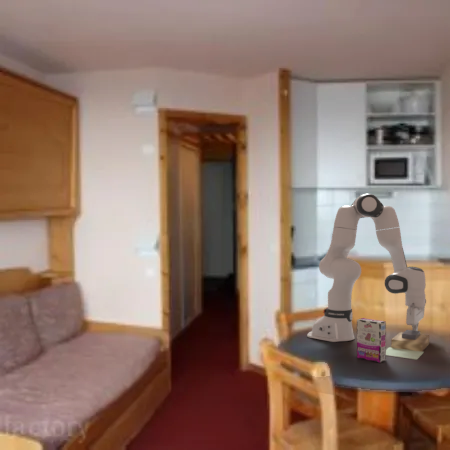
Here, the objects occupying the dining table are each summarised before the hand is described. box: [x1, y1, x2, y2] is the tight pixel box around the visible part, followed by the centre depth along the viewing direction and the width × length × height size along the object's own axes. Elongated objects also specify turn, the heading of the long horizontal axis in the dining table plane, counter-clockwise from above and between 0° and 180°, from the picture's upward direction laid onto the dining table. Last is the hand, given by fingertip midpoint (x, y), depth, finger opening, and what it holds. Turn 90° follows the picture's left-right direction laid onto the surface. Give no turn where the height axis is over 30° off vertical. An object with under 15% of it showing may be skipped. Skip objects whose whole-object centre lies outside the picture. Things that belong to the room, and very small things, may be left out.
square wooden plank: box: [390, 331, 430, 352], centre depth 250 cm, size 13×16×4 cm
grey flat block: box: [402, 329, 421, 340], centre depth 251 cm, size 6×9×2 cm, turn 148°
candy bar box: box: [356, 317, 387, 363], centre depth 230 cm, size 11×5×16 cm, turn 45°
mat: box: [386, 346, 425, 361], centre depth 238 cm, size 15×13×1 cm
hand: (415, 331), depth 258 cm, fingers closed
